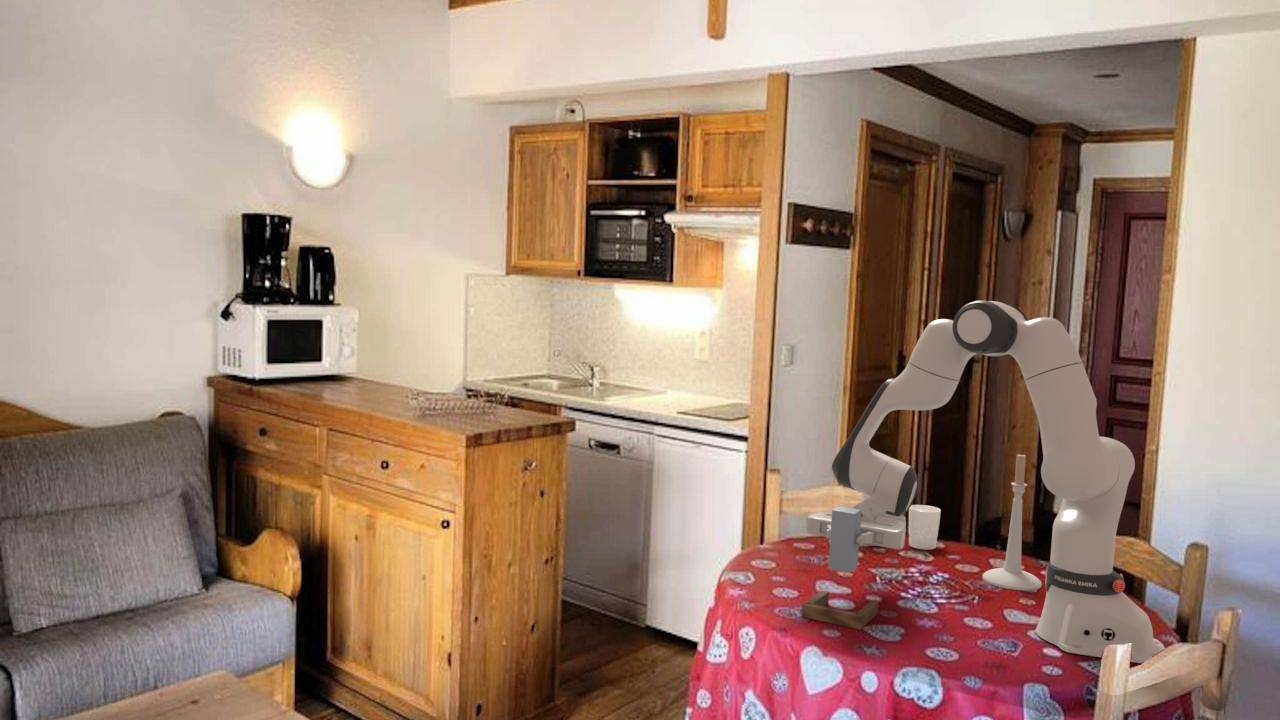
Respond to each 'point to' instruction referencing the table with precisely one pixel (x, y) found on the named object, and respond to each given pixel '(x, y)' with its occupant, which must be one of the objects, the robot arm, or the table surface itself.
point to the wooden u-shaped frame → (838, 612)
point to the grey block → (844, 539)
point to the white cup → (923, 526)
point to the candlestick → (1014, 544)
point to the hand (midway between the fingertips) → (843, 537)
